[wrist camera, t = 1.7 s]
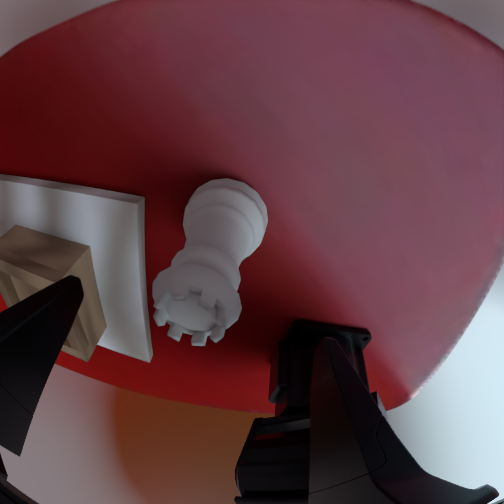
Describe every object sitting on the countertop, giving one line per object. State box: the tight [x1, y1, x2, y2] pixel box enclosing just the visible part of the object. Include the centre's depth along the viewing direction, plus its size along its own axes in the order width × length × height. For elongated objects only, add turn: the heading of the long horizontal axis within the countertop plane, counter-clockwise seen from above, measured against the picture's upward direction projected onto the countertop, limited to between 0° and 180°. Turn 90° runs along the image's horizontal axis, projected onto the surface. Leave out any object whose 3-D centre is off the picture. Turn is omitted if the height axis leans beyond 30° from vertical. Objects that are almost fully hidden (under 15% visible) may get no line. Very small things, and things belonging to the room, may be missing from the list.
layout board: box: [0, 174, 153, 362], centre depth 17 cm, size 16×16×5 cm
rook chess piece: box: [152, 178, 268, 346], centre depth 12 cm, size 4×4×8 cm
